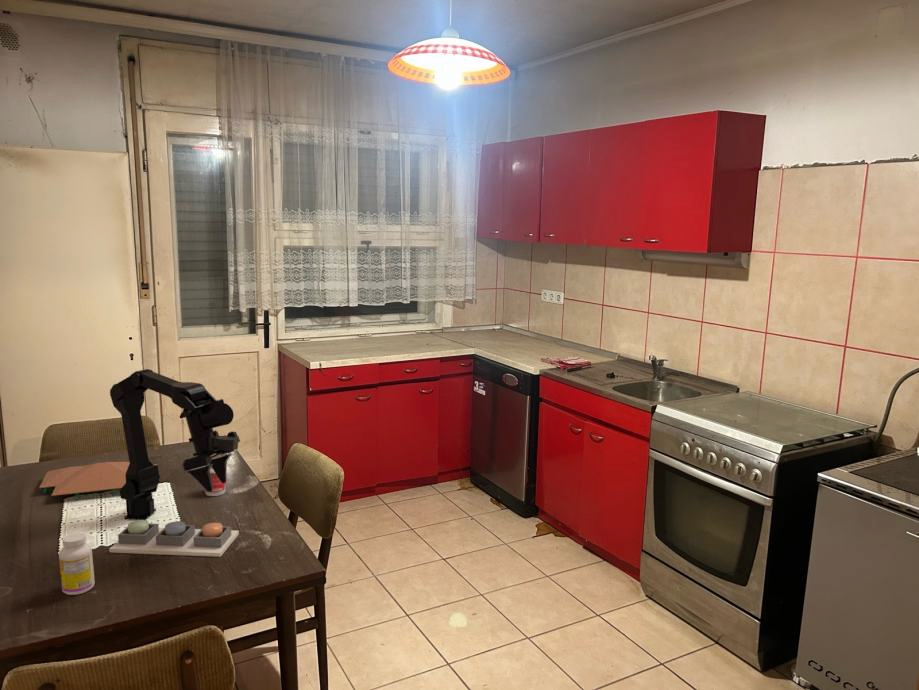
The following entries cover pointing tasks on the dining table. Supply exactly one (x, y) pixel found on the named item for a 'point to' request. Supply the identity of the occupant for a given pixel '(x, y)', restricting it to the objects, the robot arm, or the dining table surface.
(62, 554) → the supplement bottle
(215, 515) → the dining table surface
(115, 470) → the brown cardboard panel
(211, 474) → the pill bottle
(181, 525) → the slate blue button
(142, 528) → the sage button
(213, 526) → the terracotta button
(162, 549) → the button panel
